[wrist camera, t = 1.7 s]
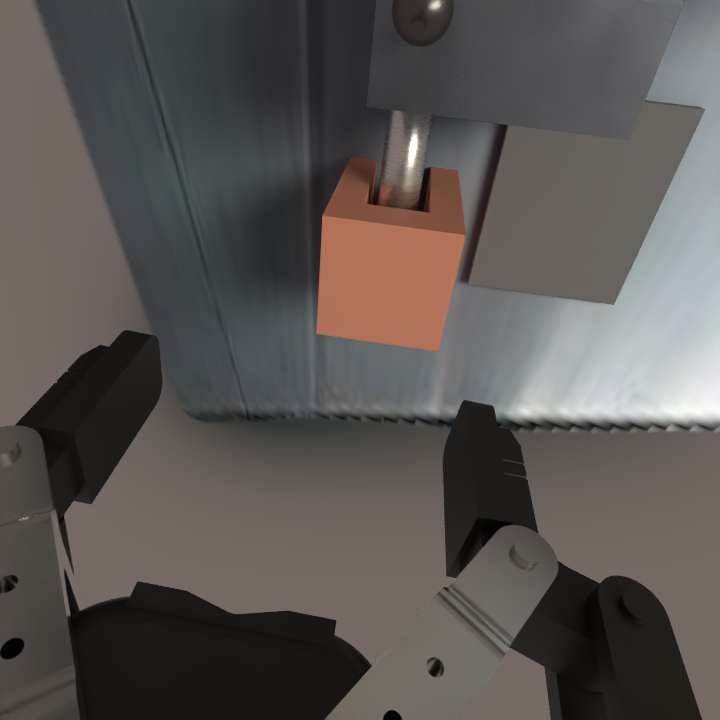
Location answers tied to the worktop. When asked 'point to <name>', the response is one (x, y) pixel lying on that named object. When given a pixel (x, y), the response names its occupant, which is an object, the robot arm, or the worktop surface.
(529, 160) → the mat
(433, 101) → the vise block
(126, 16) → the worktop surface
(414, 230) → the notched orange block
